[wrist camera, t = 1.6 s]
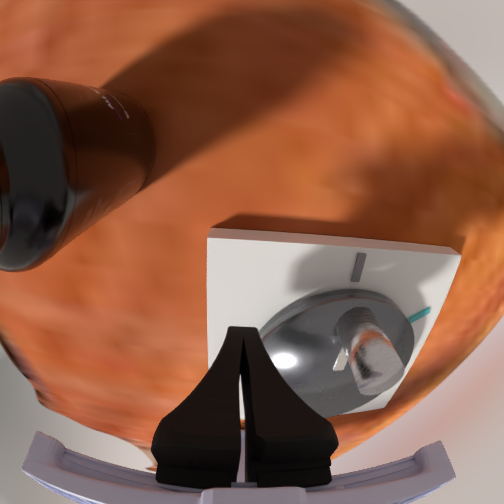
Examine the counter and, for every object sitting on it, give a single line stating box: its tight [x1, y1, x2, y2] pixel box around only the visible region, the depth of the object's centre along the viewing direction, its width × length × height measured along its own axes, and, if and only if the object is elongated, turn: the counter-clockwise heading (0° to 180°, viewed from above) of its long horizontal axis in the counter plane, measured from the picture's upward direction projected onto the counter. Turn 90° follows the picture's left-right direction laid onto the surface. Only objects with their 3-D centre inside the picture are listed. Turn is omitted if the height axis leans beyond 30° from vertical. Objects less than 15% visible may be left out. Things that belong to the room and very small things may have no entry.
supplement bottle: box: [0, 77, 154, 272], centre depth 8 cm, size 7×7×12 cm
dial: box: [259, 289, 414, 418], centre depth 15 cm, size 12×12×6 cm
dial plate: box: [207, 228, 462, 419], centre depth 19 cm, size 17×17×2 cm
